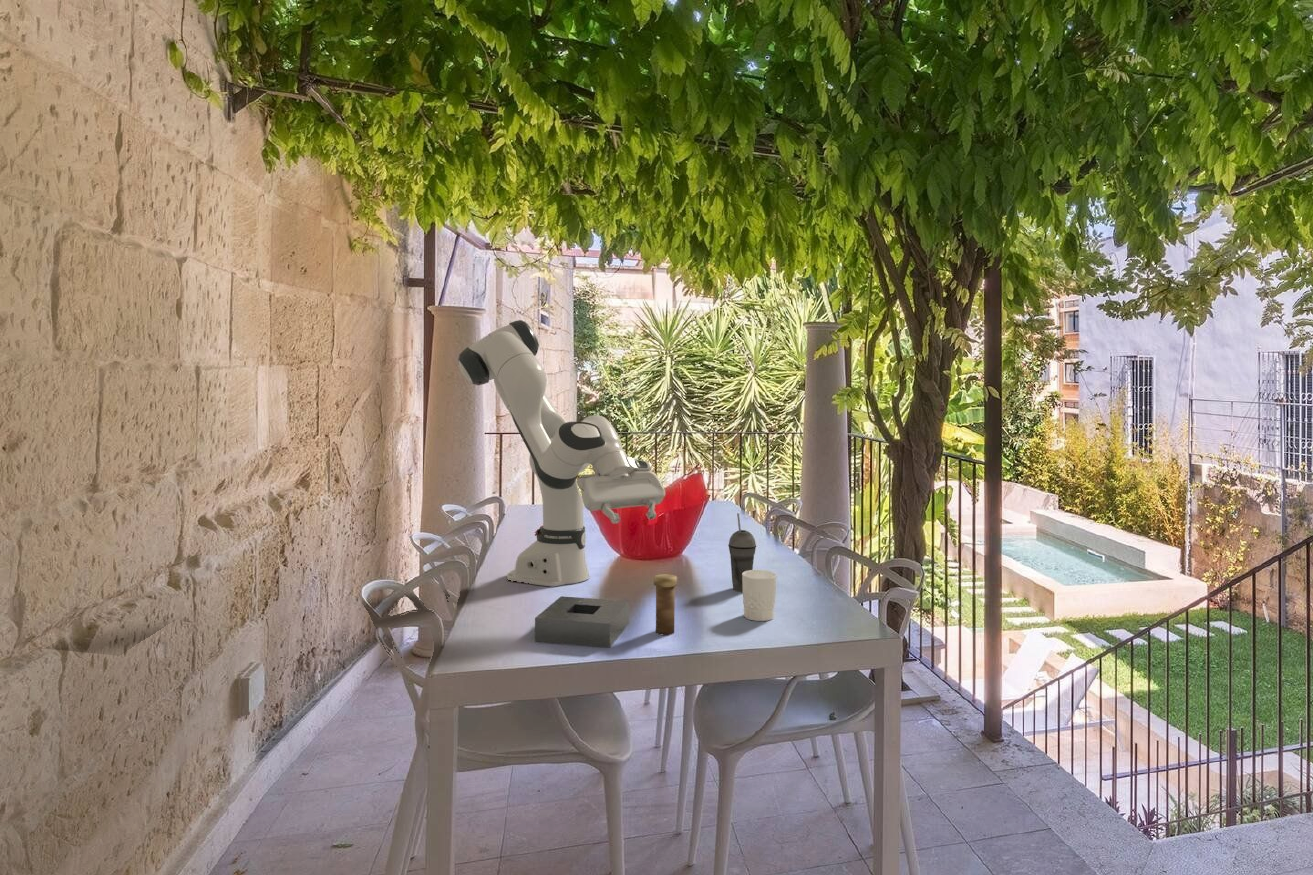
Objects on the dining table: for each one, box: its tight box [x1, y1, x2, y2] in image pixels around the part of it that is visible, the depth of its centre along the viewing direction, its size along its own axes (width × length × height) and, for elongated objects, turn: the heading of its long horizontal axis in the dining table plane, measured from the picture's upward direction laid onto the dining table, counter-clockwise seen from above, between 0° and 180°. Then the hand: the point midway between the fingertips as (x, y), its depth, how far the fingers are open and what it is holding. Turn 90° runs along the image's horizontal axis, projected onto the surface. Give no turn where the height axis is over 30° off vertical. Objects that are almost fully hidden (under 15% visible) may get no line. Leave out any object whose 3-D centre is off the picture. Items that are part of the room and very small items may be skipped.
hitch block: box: [534, 596, 630, 649], centre depth 156 cm, size 16×16×5 cm
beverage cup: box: [727, 513, 757, 593], centre depth 189 cm, size 7×7×20 cm
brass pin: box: [653, 573, 678, 636], centre depth 156 cm, size 5×5×12 cm
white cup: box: [742, 569, 778, 622], centre depth 167 cm, size 8×8×10 cm
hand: (634, 519), depth 165 cm, fingers open, 8 cm apart
